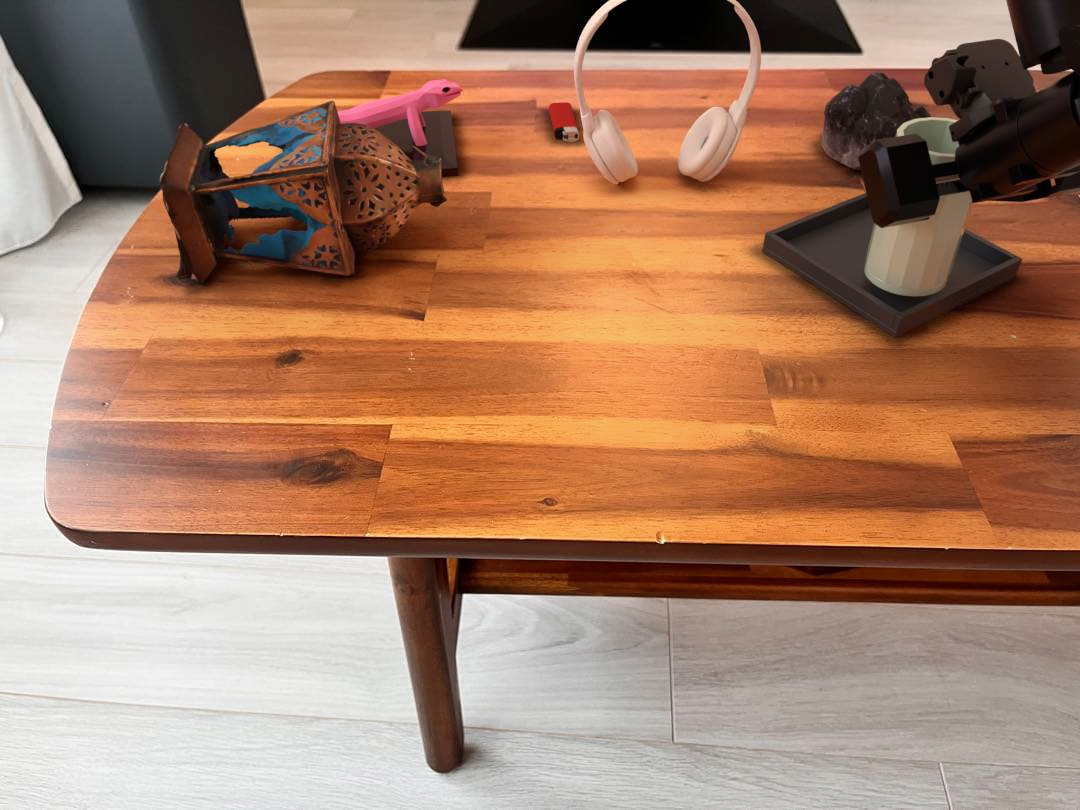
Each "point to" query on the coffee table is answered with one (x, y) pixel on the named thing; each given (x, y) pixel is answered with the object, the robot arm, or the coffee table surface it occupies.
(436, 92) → the lizard figurine
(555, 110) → the lighter
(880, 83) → the crystal cluster
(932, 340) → the coffee table surface
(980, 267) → the tray
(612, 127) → the headphones
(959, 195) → the tumbler
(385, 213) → the lantern
